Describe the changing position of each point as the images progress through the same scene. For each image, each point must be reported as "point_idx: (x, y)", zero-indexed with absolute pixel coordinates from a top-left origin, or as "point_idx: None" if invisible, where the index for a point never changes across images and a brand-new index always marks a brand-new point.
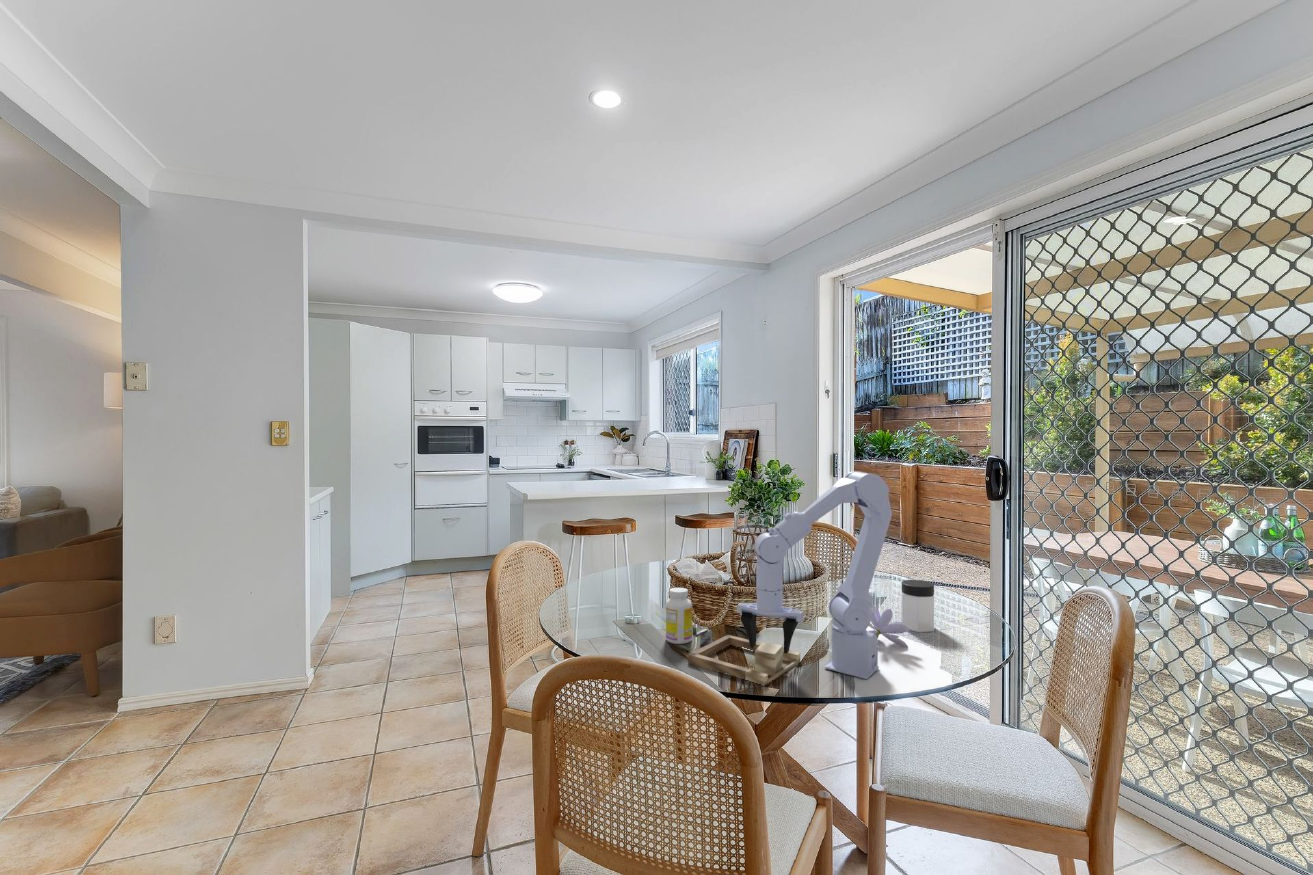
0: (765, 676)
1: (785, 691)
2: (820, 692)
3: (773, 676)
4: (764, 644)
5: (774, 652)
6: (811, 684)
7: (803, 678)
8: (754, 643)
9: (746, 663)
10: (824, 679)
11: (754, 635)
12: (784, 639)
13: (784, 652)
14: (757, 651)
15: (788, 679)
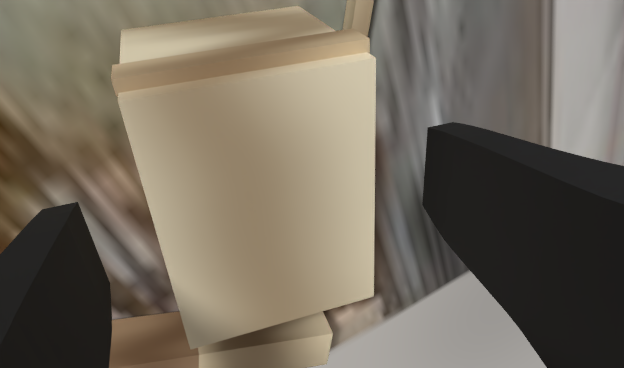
0: (327, 352)
1: (413, 296)
2: None
3: None
4: (181, 166)
5: (360, 274)
6: None
7: (471, 108)
8: (91, 260)
9: (4, 128)
10: (583, 43)
11: (69, 318)
12: (518, 318)
13: (431, 209)
14: (215, 337)
15: (395, 177)
